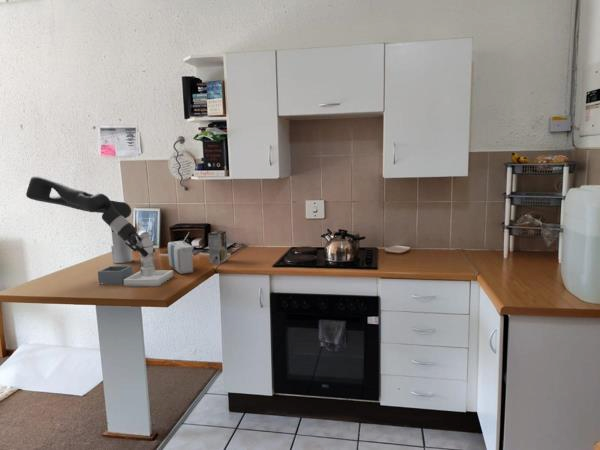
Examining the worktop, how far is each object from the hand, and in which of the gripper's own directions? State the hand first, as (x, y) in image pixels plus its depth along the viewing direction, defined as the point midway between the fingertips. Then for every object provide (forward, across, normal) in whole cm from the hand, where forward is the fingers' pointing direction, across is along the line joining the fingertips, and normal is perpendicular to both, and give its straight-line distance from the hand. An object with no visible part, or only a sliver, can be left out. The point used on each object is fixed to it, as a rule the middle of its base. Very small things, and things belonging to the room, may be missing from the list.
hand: (150, 253), depth 194 cm
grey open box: (-3, 0, -21) cm, 22 cm away
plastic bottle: (+6, 0, -9) cm, 11 cm away
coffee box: (+23, -38, +5) cm, 45 cm away
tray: (+8, 0, -10) cm, 13 cm away
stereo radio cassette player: (+13, -21, -5) cm, 25 cm away
